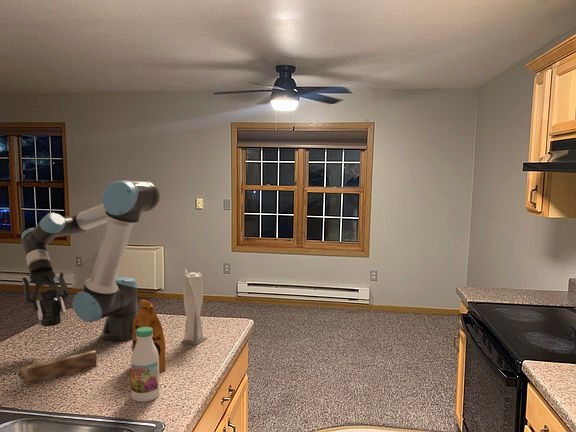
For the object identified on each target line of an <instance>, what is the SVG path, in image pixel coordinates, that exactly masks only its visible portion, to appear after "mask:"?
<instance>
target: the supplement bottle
mask: <svg viewBox="0 0 576 432" xmlns="http://www.w3.org/2000/svg"><path fill="white" fill-rule="evenodd" d="M39 303H40V307H41V311H42V315H43V317H42V320H40V321H39V325H40V326H41V327H46V328H48V327H54V326H57V325H59V324H61V322H62V312H61V306H60V299H59V297H58V296H57V291H56V290H52V289H47V290H43V291H41V299H39Z"/></svg>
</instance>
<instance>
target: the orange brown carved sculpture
mask: <svg viewBox="0 0 576 432" xmlns="http://www.w3.org/2000/svg"><path fill="white" fill-rule="evenodd" d="M138 304H139V305H140V308H139V310H138V311H137V315H136V317H135V319H134V321H133V338H132V339H131V340H132V346H131V352H132V353H133V350H134V348H135V346H136V343H137V338H136V330H137V329H138V328H141V327H151V328H152V329H153V336H152V340H153V343H154V345H155V347H156V349H157V351H158V356H159V373H161V372H164V371H166V362H167V361H166V340H165V339H166V338H165V335H164V330H163V327H162V326H163V325H162V323H161V321H160V319H159V316H158V315H157V313H156V311H155V307H154V306H153V303H152V302H150V301H148V300H145V299H141V300H140V301H139V303H138Z"/></svg>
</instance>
